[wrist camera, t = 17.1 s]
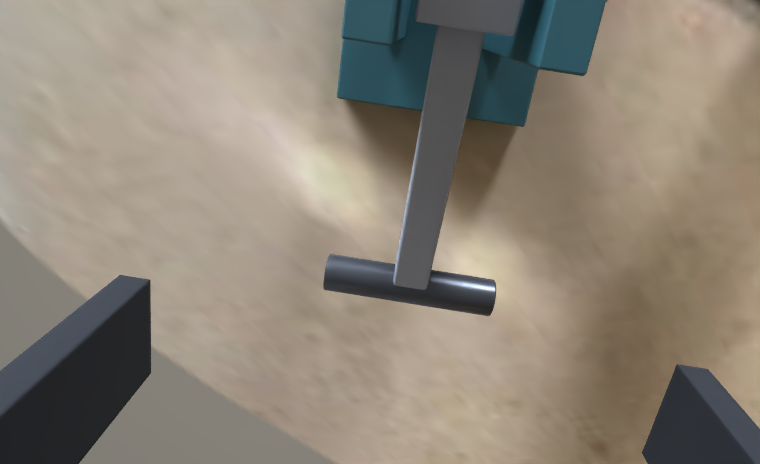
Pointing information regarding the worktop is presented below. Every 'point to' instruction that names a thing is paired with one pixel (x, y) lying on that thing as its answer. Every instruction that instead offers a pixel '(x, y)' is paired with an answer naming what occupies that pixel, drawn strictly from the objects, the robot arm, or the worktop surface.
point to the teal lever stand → (496, 65)
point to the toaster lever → (434, 167)
